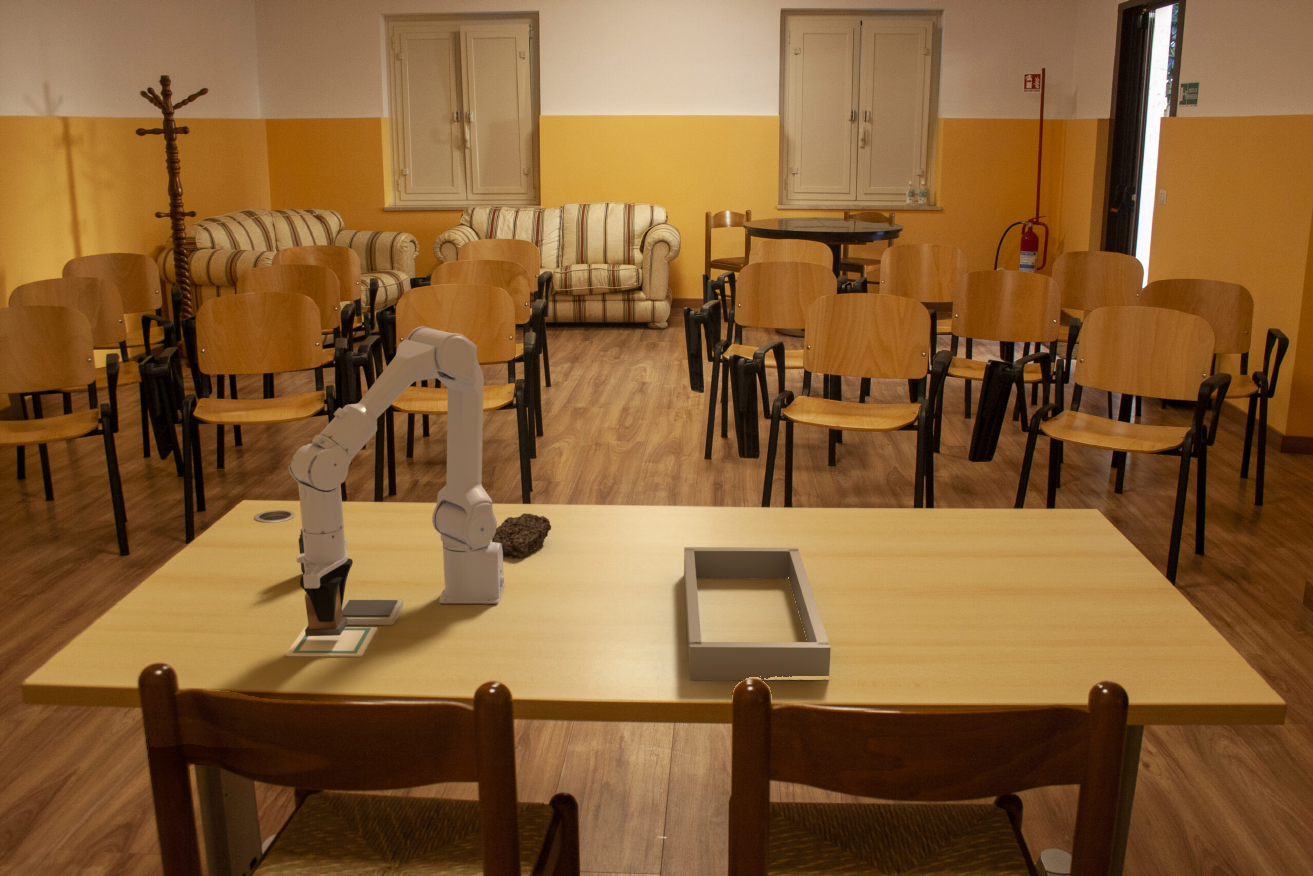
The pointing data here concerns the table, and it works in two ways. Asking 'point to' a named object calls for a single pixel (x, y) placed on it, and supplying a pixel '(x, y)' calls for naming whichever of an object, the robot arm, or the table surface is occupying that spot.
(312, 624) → the stamp
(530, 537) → the dark brown rock
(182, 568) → the table surface
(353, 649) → the print sheet
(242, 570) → the table surface
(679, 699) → the table surface
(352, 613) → the ink pad
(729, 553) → the open rectangular frame
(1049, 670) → the table surface
